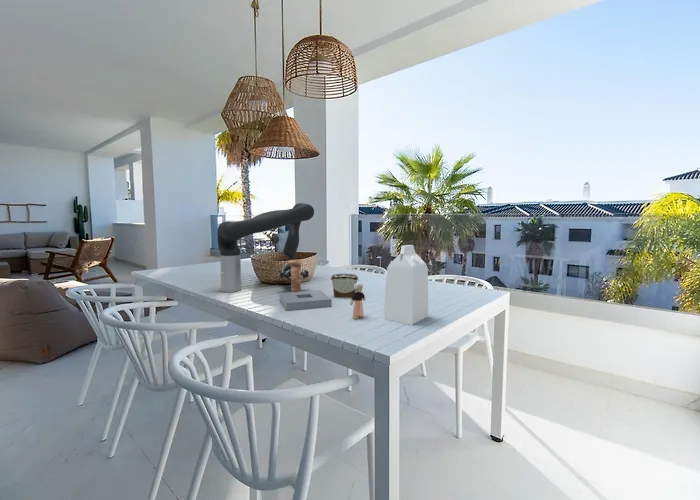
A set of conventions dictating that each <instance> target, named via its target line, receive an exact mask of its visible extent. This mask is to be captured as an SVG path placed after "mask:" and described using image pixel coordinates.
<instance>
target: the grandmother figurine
mask: <svg viewBox="0 0 700 500" xmlns="http://www.w3.org/2000/svg"><path fill="white" fill-rule="evenodd" d="M363 288H364V284H363V283H361V282H359V281H357V283H356V284H355V285H354V289H355V291H356V292H355V293H354V295H353V297H352V298H350V299H351V300H350V302H349V304H350V306H352V305H353V309H352V319H353V320H358V319H359V320H360V318H364V307H363V302H365V301H366V295H365V294H364V292H362V291H363Z"/></svg>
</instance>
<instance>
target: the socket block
mask: <svg viewBox="0 0 700 500" xmlns="http://www.w3.org/2000/svg"><path fill="white" fill-rule="evenodd" d="M278 294H279V295H278V297H279V298H278V299H279V302H280V303H281V304H282V306H283V308H284V309H285V311H297V310H299V311H300V310H308V309H310V310H311V309H321V308H331V307H332V304H333V303H332V302H333V301H332V300H333V299H332V298H331V297H329V296H328V295H327V294H325V293H324V292H323V291H321V290H320V289H318V290H305V291H302V290H301V292H279V293H278Z"/></svg>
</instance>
